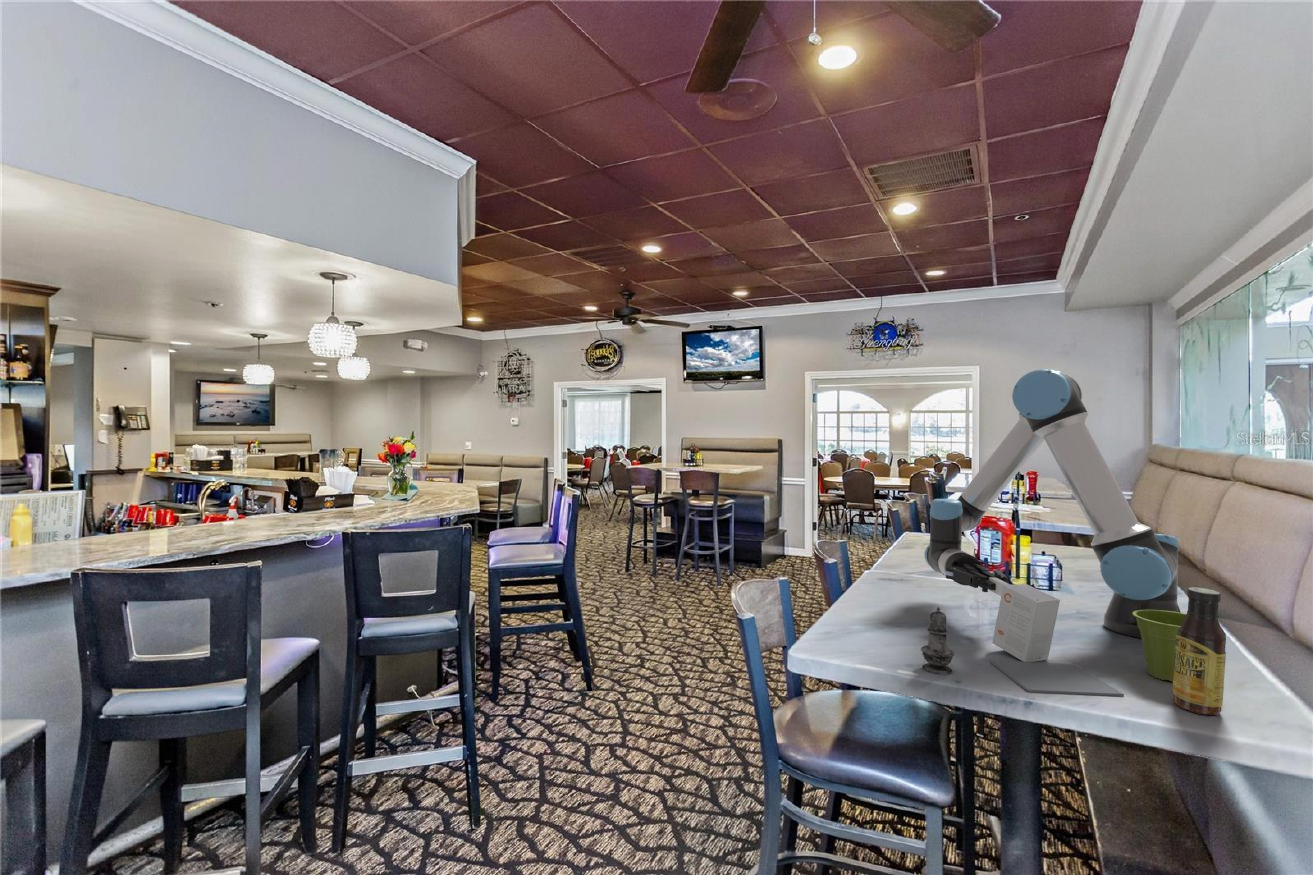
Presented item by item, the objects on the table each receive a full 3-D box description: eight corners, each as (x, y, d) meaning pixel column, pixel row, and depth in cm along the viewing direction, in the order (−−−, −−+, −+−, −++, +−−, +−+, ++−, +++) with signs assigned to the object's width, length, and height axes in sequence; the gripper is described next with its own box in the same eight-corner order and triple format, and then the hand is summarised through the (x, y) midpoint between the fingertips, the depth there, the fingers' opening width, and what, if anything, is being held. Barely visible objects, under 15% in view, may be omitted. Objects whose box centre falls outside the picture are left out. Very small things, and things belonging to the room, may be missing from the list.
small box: (1048, 660, 123) (1061, 599, 120) (1025, 664, 120) (1038, 602, 118) (1013, 639, 130) (1025, 582, 128) (990, 643, 128) (1002, 584, 125)
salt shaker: (958, 676, 113) (959, 612, 113) (924, 673, 114) (925, 609, 114) (949, 665, 119) (950, 603, 119) (917, 662, 120) (918, 601, 120)
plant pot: (1158, 663, 122) (1159, 606, 122) (1229, 686, 111) (1231, 624, 111) (1116, 669, 118) (1117, 611, 118) (1186, 694, 107) (1187, 630, 107)
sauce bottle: (1162, 701, 104) (1164, 584, 104) (1196, 700, 105) (1198, 584, 104) (1199, 718, 98) (1202, 594, 97) (1235, 718, 98) (1238, 594, 98)
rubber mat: (1074, 665, 120) (1074, 663, 120) (1124, 696, 106) (1124, 694, 106) (989, 662, 121) (990, 660, 121) (1027, 691, 107) (1027, 689, 107)
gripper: (987, 583, 150) (1039, 610, 127) (932, 581, 151) (974, 607, 128) (988, 552, 150) (1040, 574, 127) (933, 551, 151) (974, 572, 128)
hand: (1006, 591), depth 127 cm, fingers closed
